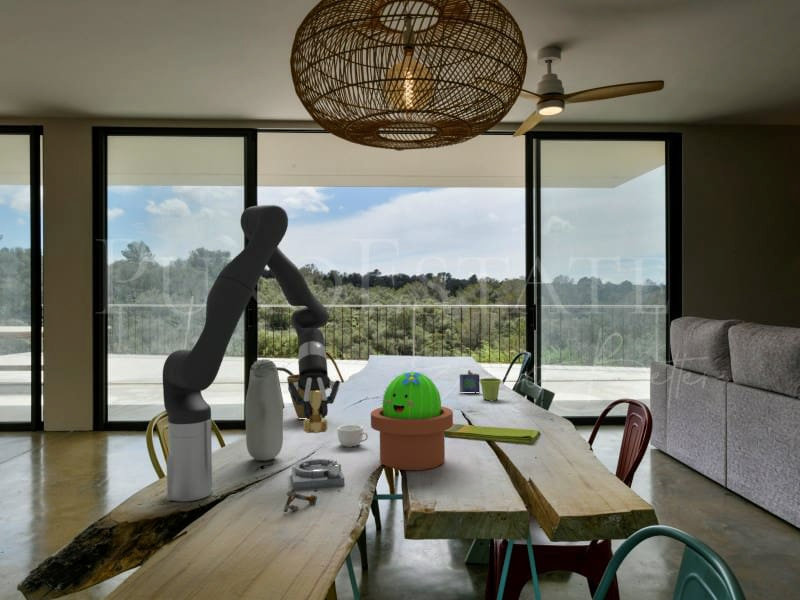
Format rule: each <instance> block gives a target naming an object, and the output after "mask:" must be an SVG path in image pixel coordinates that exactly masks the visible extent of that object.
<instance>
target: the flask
mask: <svg viewBox="0 0 800 600" xmlns="http://www.w3.org/2000/svg"><path fill="white" fill-rule="evenodd" d="M479 380H480V374H479V373H476V372H472V371H471V370H470V369H469V370H467V373H460V374H459V393H460V392H479V393H480V386H481V384H480V381H479Z"/></svg>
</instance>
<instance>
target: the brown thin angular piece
mask: <svg viewBox="0 0 800 600" xmlns="http://www.w3.org/2000/svg"><path fill="white" fill-rule="evenodd" d="M285 494H286V496H287V501H286V503H285V505H284V509H283V513H288V511H289V510H290V511H291V512H292V511H293V512H294V511H296V512H297V511H298V510H299V506H297V505H294V504H291V503H292V502H293V501H294V500H295V499H297V500H301V501H307V502H308V503H309V504H312V505H313V506H315V505H317V504H316V503H317V502H318V501H317V500H318V498H319V497H318V496H317V495H314V494H310V496H309V495H308V496H307V495H304V494H301V493H296V492H295V490H293V489H290V491H289V490H288V491H286V493H285Z"/></svg>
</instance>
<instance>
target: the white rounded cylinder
mask: <svg viewBox="0 0 800 600" xmlns="http://www.w3.org/2000/svg"><path fill="white" fill-rule="evenodd" d="M278 375H279V374H278V368H277V365H276V363H275V362H274V361H273V360H270V359H264V358H263V359H257V360H256V361H254V362H253V364H252V365H251V367H250V371H249V380H248V388H247V392H246V396H245V397H246V398H245V408H244V412H245V415H244V416H245V417H244V418H245V436H246V437H245V442H246V443H245V444H246V450H247V452H248V454H249V455H250V456H251V458H252V459H254V460H255V461H256V460H257V461H261V462H263V461H264V462H267V461H271V460H273V459H275V458H276V457H277V456H278V455H279V454H280V452H281V451H282V447H283V443H284V405H283V403H284V401H283V395H282V391H281V388H280V387H281V385H280V383H279V382H280V381H279V376H278Z"/></svg>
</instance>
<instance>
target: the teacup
mask: <svg viewBox="0 0 800 600" xmlns="http://www.w3.org/2000/svg"><path fill="white" fill-rule="evenodd" d="M364 435H365V439H363V438H364ZM337 438H338V439H337V440H338V442H339V443H340V445H341V446H343V447H345V446H346V447H345V448H353V447H352V446H355V447H357V445H358V446H359V445H360V444H361V443H362V442H365V441H367V440H368V438H369V437H368V433H367V432H365V431H364V426H363V425H359V424H344V425H340V426H338V427H337Z"/></svg>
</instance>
